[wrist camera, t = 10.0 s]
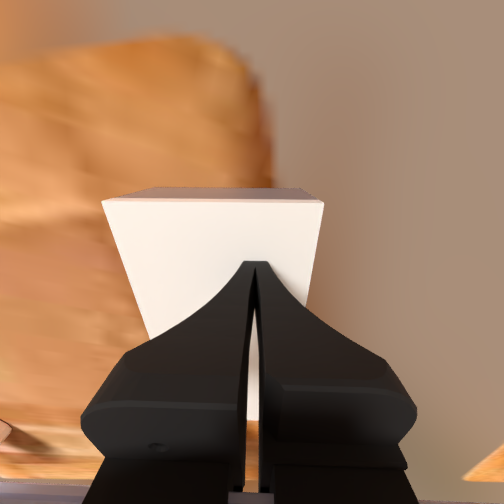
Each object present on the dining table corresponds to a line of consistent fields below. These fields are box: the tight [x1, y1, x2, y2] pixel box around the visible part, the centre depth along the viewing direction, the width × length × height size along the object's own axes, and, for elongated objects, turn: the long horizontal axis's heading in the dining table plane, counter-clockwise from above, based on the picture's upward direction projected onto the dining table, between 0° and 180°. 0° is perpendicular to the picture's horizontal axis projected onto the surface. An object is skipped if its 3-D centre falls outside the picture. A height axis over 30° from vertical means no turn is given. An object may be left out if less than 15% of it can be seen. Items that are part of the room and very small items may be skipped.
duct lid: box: [101, 198, 324, 420], centre depth 13 cm, size 20×10×1 cm, turn 0°
